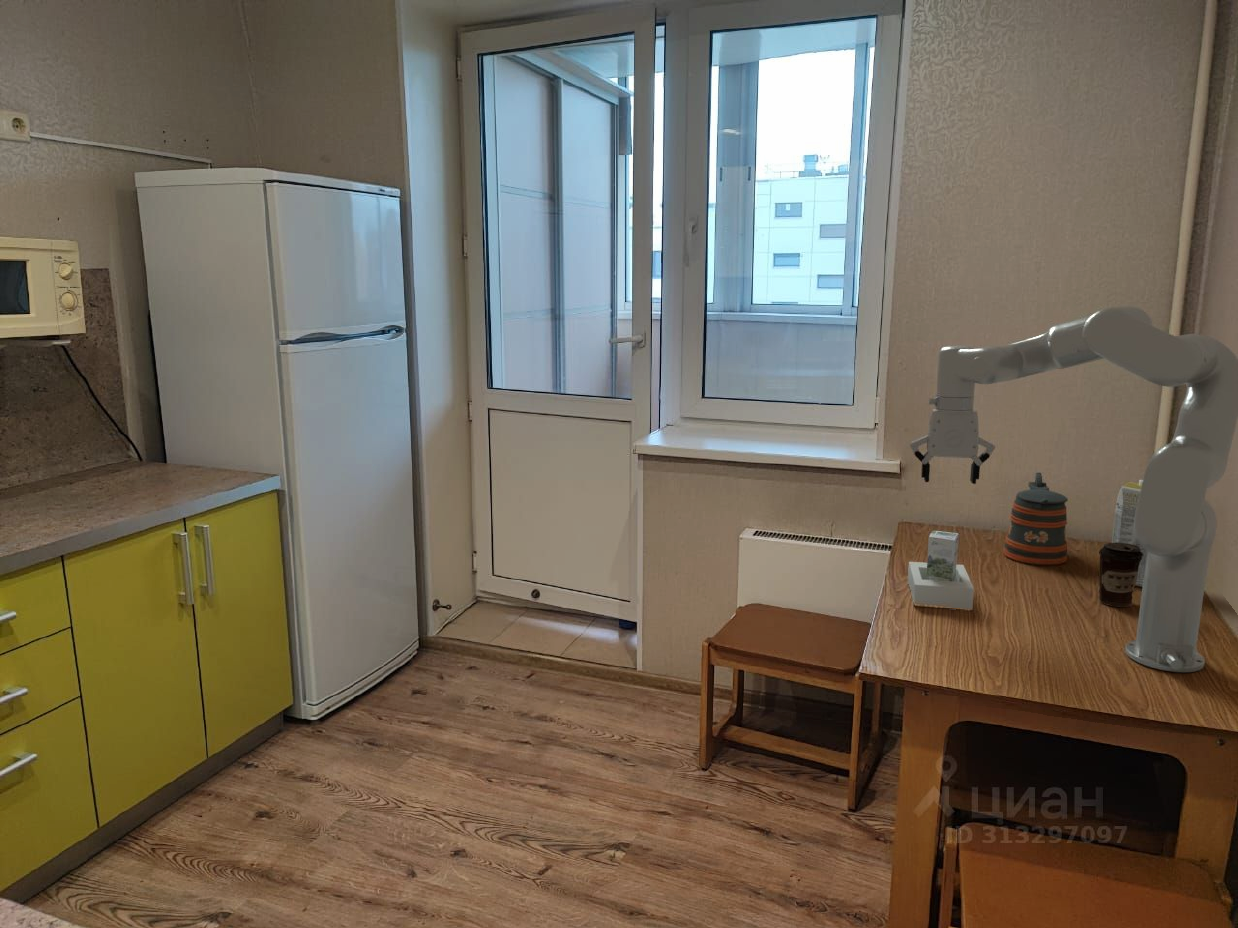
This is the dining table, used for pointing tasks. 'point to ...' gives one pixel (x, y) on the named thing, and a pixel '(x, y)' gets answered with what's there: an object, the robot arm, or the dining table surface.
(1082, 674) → the dining table surface
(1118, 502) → the juice carton
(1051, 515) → the beer stein
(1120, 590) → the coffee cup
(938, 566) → the syrup box
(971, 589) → the socket block
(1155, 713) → the dining table surface
